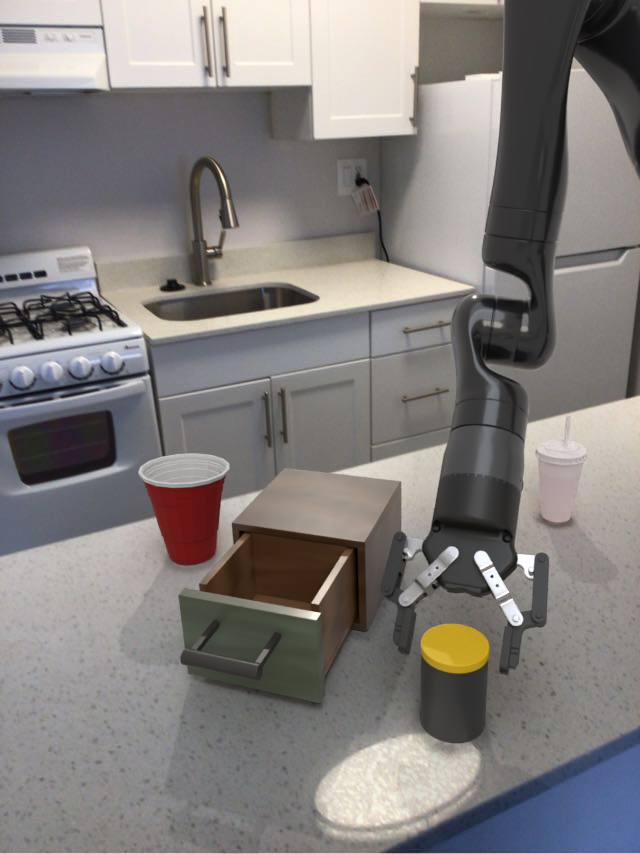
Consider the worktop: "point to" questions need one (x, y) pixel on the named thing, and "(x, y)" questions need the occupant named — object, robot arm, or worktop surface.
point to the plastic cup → (186, 502)
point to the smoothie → (559, 475)
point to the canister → (453, 682)
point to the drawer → (271, 615)
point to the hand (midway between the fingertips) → (452, 663)
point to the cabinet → (332, 522)
